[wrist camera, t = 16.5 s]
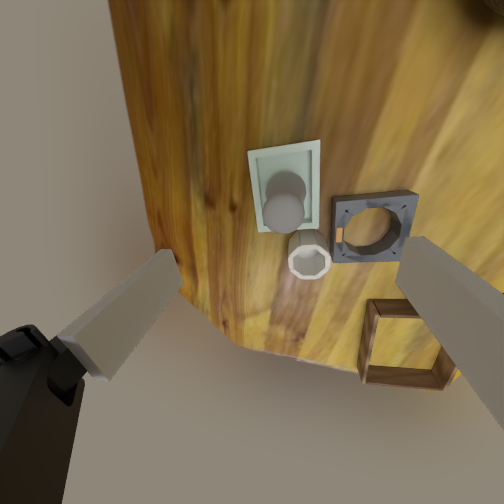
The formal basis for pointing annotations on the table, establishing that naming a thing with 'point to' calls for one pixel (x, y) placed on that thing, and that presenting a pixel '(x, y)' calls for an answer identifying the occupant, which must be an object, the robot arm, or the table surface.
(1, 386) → the robot arm
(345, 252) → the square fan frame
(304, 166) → the mint green tray
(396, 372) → the book tray
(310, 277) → the octagonal gray cup
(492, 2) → the planter
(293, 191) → the salt shaker
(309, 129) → the table surface
